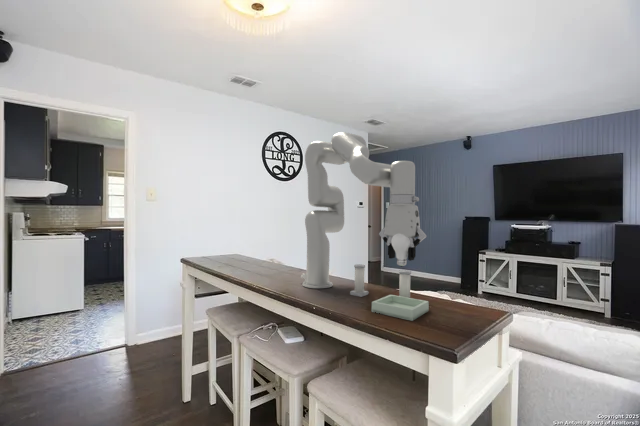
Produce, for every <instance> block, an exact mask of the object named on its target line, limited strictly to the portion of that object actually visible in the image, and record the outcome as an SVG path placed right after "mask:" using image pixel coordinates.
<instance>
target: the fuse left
mask: <svg viewBox="0 0 640 426" xmlns="http://www.w3.org/2000/svg"><path fill="white" fill-rule="evenodd" d="M365 268H366V264H357V263H356V264H354V289H353V290H351V291H349V295H351V296H355V297H365V296H368V295H369V290H365Z"/></svg>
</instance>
